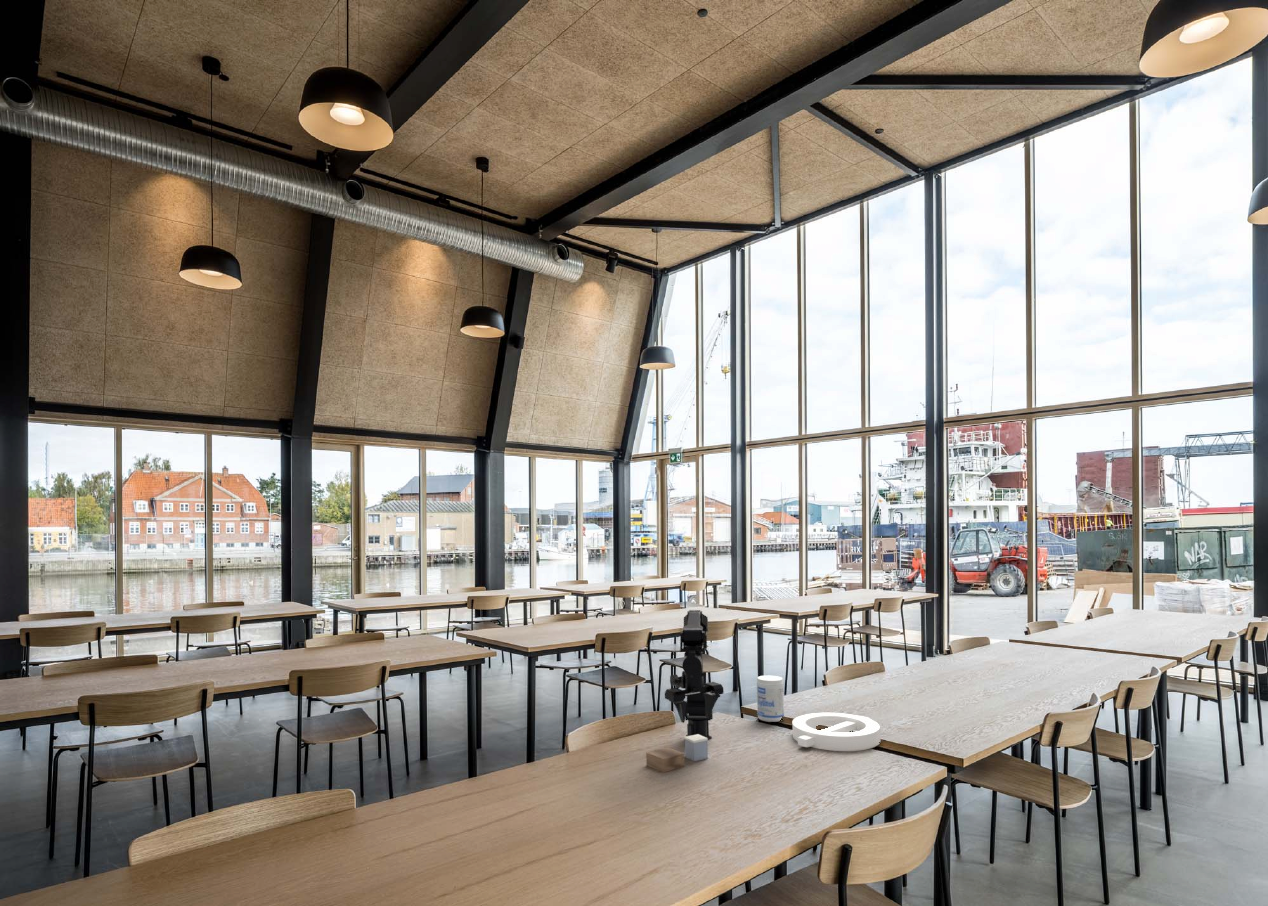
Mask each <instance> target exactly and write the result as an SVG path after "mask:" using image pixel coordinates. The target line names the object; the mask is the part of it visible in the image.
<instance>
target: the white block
mask: <svg viewBox="0 0 1268 906" xmlns="http://www.w3.org/2000/svg"><path fill="white" fill-rule="evenodd" d="M683 738H684V758H687V759H689V760H691V761H693V762H698V761H701V760H706V759H709V755H708V754H709V751H708V749H709V747H708V745H709V744H708V740H709V739H708V738H706V737H704V736H701V735H699V734H696V735H691V736H686V735H685V736H684V737H683Z"/></svg>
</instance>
